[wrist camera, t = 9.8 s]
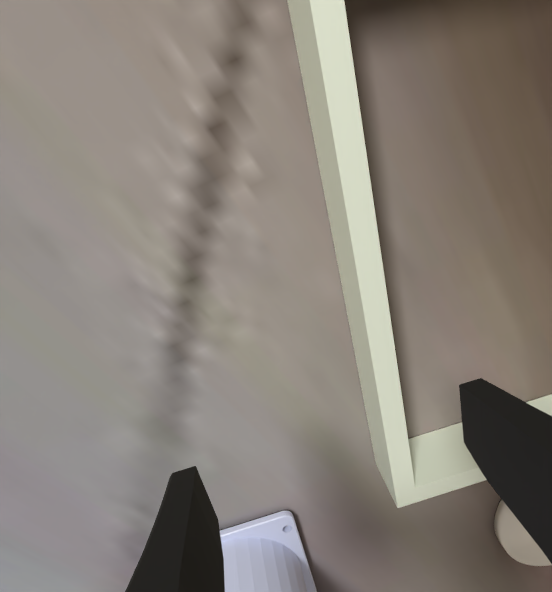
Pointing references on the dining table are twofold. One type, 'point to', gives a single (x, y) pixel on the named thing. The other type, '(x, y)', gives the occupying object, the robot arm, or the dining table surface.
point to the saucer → (517, 538)
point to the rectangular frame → (368, 264)
